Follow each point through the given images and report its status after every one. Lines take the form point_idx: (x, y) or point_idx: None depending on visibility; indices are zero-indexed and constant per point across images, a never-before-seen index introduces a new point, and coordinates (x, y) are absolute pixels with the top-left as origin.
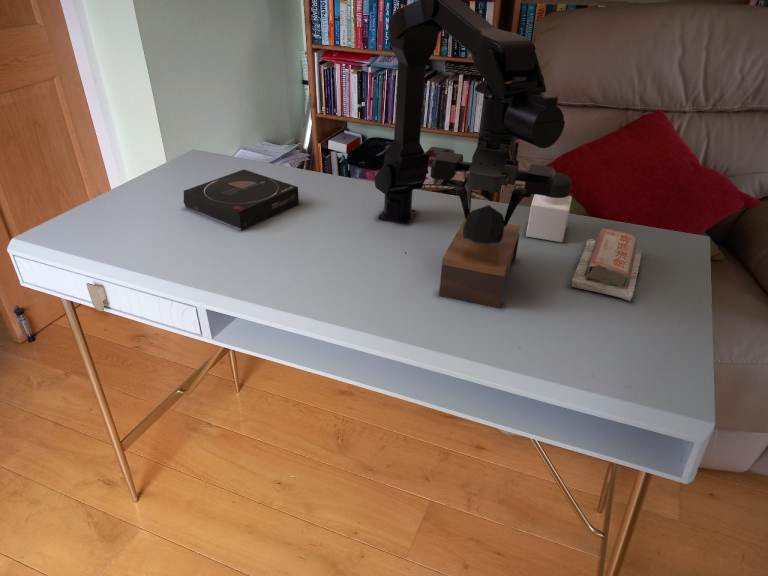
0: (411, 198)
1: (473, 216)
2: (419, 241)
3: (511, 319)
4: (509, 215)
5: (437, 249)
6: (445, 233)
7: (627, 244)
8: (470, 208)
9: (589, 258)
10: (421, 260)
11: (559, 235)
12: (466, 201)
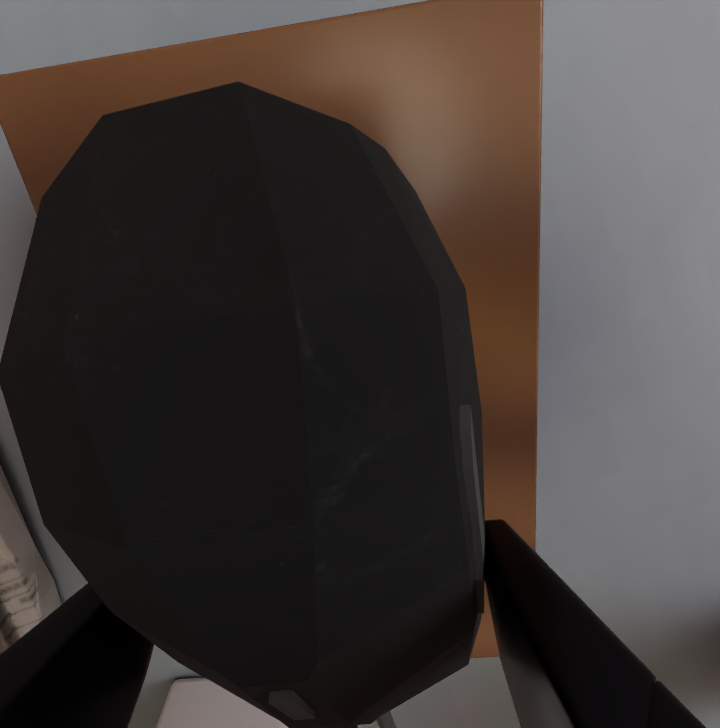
0: None
1: (381, 455)
2: (690, 496)
3: (43, 17)
4: (25, 646)
5: (594, 469)
6: (591, 590)
7: None
8: (501, 654)
9: (12, 615)
10: (648, 350)
11: (177, 705)
12: (586, 709)
